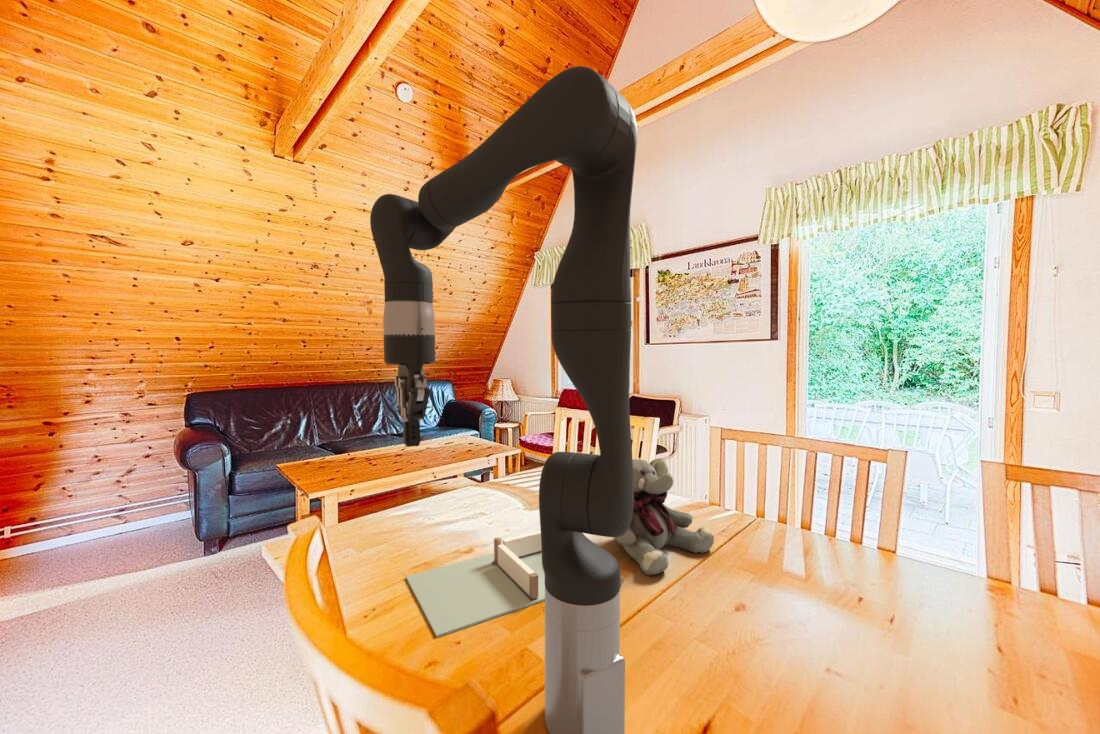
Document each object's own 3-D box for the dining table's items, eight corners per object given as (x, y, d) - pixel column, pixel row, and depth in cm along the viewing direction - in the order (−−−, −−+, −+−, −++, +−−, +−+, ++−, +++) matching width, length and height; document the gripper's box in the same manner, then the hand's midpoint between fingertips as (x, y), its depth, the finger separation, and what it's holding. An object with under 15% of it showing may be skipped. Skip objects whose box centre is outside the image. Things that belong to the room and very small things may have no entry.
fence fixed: (559, 549, 101) (559, 525, 101) (496, 567, 93) (495, 541, 93) (555, 546, 102) (555, 523, 102) (493, 564, 94) (492, 538, 94)
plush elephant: (725, 555, 98) (727, 463, 97) (651, 583, 87) (652, 478, 86) (642, 515, 121) (643, 440, 120) (575, 533, 110) (575, 450, 109)
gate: (497, 564, 93) (497, 545, 92) (503, 562, 93) (502, 543, 93) (532, 598, 80) (532, 577, 80) (538, 596, 81) (538, 575, 80)
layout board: (602, 580, 87) (602, 578, 87) (436, 637, 71) (436, 634, 71) (548, 540, 105) (548, 538, 105) (405, 578, 89) (405, 575, 89)
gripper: (447, 332, 64) (448, 451, 65) (422, 334, 75) (424, 435, 76) (393, 331, 60) (395, 457, 61) (376, 333, 72) (378, 440, 72)
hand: (411, 445), depth 69 cm, fingers closed
